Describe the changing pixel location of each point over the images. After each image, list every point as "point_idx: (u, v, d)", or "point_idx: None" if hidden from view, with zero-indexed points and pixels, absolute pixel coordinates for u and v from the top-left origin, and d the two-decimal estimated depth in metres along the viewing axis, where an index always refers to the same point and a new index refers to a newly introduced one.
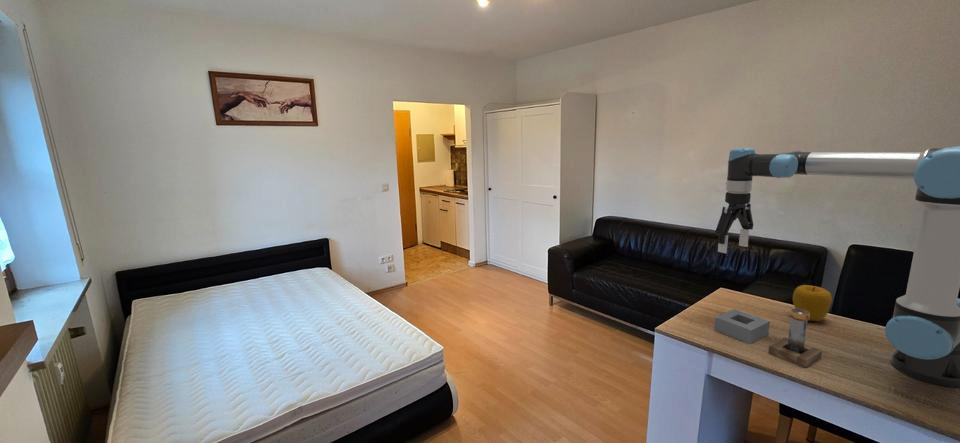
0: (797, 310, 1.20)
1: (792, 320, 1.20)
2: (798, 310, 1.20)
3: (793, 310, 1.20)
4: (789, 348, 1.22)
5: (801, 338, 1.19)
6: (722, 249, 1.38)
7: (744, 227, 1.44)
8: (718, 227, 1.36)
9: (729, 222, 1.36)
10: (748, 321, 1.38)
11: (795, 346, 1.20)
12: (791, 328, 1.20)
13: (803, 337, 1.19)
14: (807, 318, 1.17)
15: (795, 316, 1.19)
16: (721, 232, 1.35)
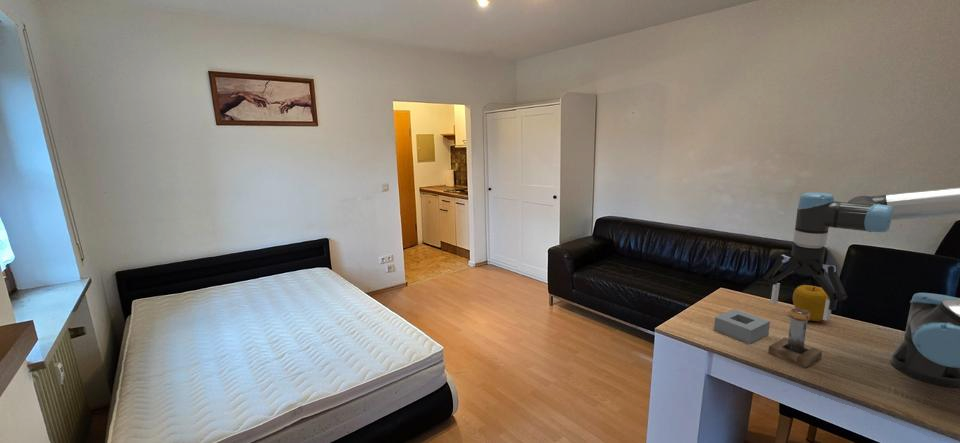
0: (796, 310, 1.20)
1: (792, 320, 1.20)
2: (798, 310, 1.20)
3: (793, 310, 1.20)
4: (789, 348, 1.22)
5: (801, 338, 1.19)
6: None
7: None
8: None
9: None
10: (748, 321, 1.38)
11: (795, 346, 1.20)
12: (791, 328, 1.20)
13: (803, 337, 1.19)
14: (807, 318, 1.17)
15: (795, 316, 1.19)
16: None
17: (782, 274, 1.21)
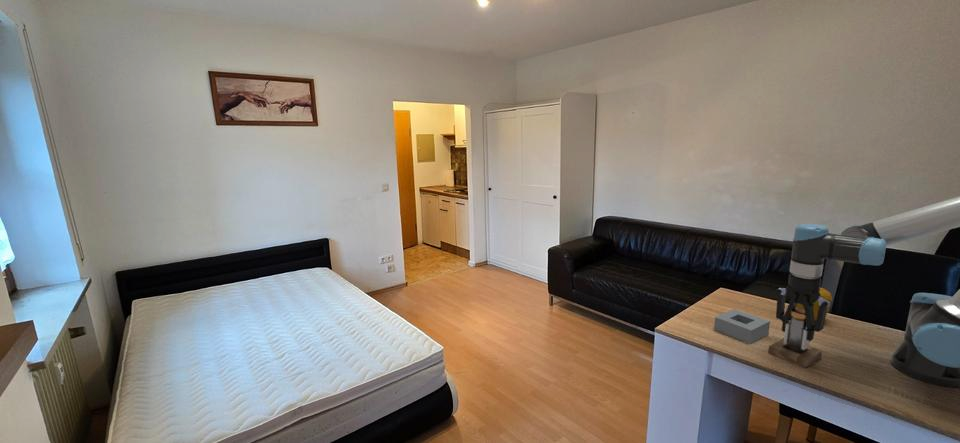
0: (797, 310, 1.20)
1: (792, 320, 1.20)
2: (798, 310, 1.20)
3: (793, 310, 1.20)
4: (789, 348, 1.22)
5: (801, 338, 1.19)
6: None
7: None
8: None
9: None
10: (748, 321, 1.38)
11: (795, 346, 1.20)
12: (791, 328, 1.20)
13: None
14: None
15: (795, 316, 1.19)
16: None
17: (788, 309, 1.21)
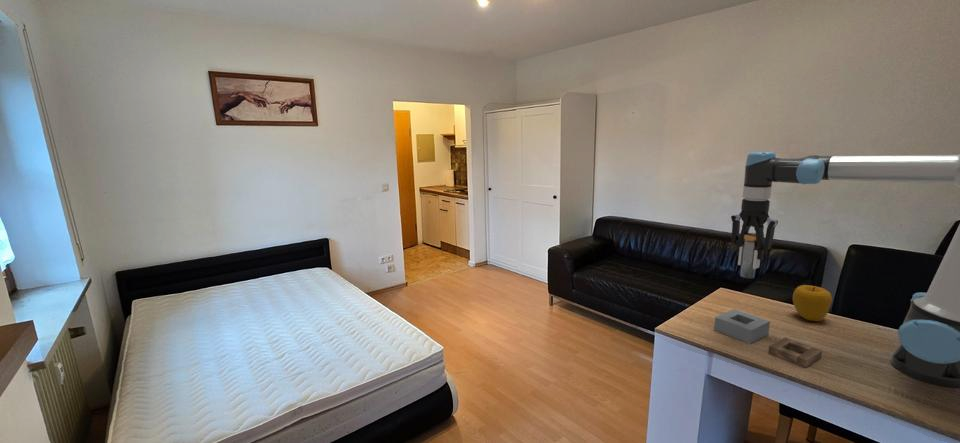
0: (749, 233, 1.31)
1: (745, 242, 1.31)
2: (750, 233, 1.31)
3: (746, 233, 1.31)
4: (742, 269, 1.33)
5: (752, 258, 1.30)
6: None
7: None
8: None
9: None
10: (748, 321, 1.38)
11: (748, 266, 1.31)
12: (744, 250, 1.31)
13: None
14: None
15: (747, 238, 1.29)
16: None
17: (741, 233, 1.32)
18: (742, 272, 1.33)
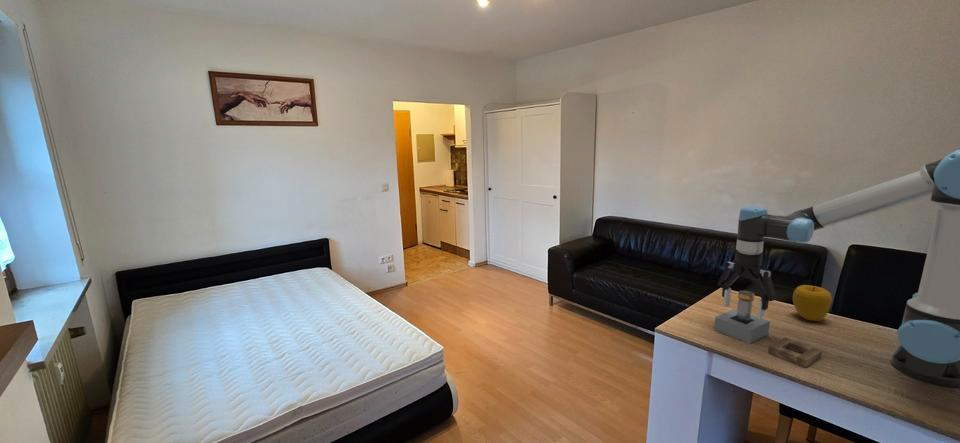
0: (744, 292, 1.35)
1: (739, 301, 1.35)
2: (745, 292, 1.35)
3: (740, 292, 1.35)
4: None
5: (746, 316, 1.34)
6: None
7: None
8: None
9: (730, 278, 1.38)
10: None
11: None
12: (738, 308, 1.36)
13: (748, 316, 1.34)
14: (752, 299, 1.32)
15: (741, 297, 1.34)
16: None
17: (730, 279, 1.37)
18: None
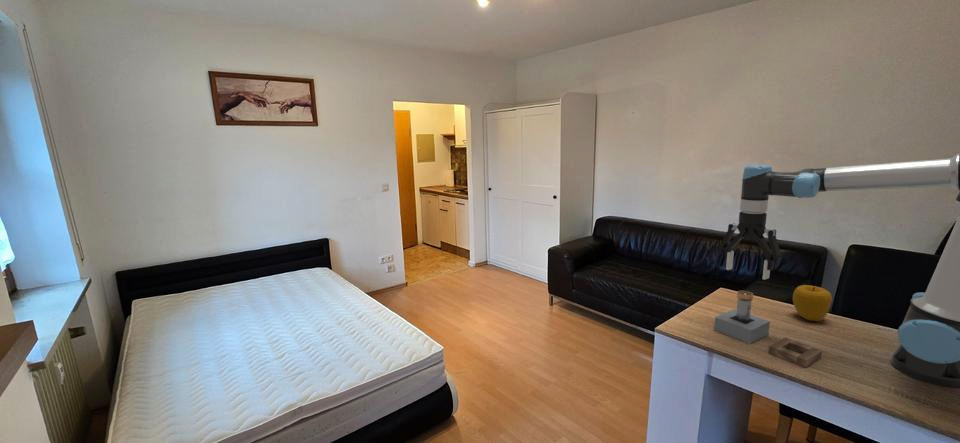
0: (742, 292, 1.35)
1: (738, 300, 1.35)
2: (744, 292, 1.35)
3: (739, 292, 1.36)
4: None
5: (746, 316, 1.34)
6: None
7: None
8: None
9: (733, 240, 1.35)
10: None
11: None
12: (738, 308, 1.36)
13: (748, 315, 1.34)
14: (751, 298, 1.33)
15: (740, 297, 1.34)
16: None
17: (733, 241, 1.35)
18: None
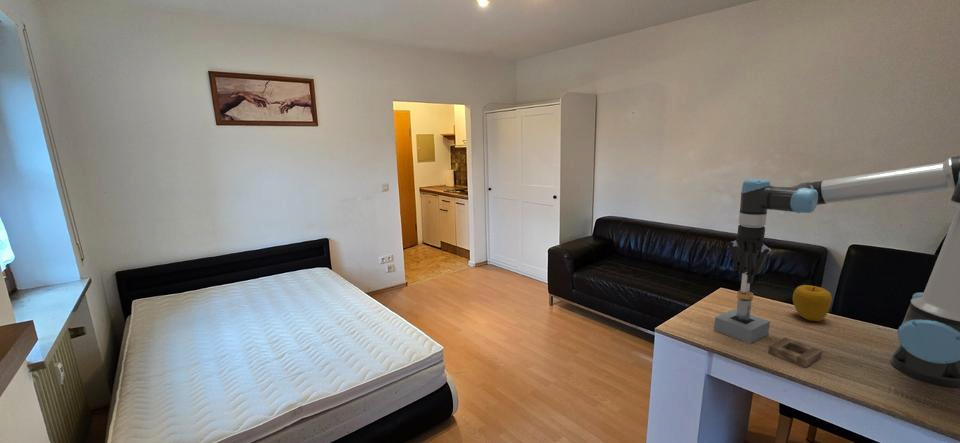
0: (742, 292, 1.35)
1: (738, 300, 1.35)
2: (744, 292, 1.35)
3: (739, 292, 1.36)
4: None
5: (746, 316, 1.34)
6: None
7: None
8: None
9: None
10: None
11: None
12: (738, 308, 1.36)
13: (748, 315, 1.34)
14: (751, 298, 1.33)
15: (740, 297, 1.34)
16: None
17: (741, 259, 1.33)
18: None
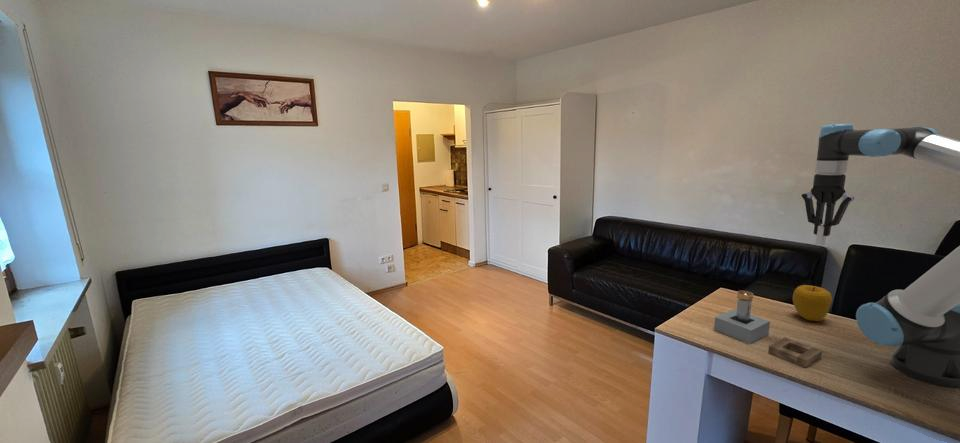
0: (742, 292, 1.35)
1: (738, 300, 1.35)
2: (744, 292, 1.35)
3: (739, 292, 1.36)
4: None
5: (746, 316, 1.34)
6: None
7: None
8: None
9: None
10: None
11: None
12: (738, 308, 1.36)
13: (748, 315, 1.34)
14: (751, 298, 1.33)
15: (740, 297, 1.34)
16: None
17: (817, 210, 1.26)
18: None
